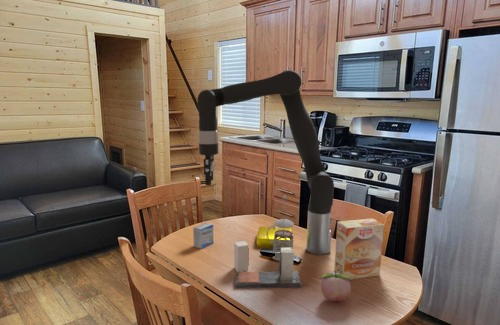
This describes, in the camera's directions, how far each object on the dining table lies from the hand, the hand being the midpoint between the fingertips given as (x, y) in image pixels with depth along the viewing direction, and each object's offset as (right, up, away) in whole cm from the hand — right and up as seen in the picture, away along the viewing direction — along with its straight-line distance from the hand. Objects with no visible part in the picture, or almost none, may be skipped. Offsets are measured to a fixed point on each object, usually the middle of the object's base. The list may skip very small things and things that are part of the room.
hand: (209, 182), depth 140 cm
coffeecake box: (+55, -33, -12) cm, 65 cm away
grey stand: (+22, -33, -18) cm, 44 cm away
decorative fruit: (+42, -36, -30) cm, 63 cm away
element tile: (+27, -28, +16) cm, 42 cm away
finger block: (+13, -32, -10) cm, 35 cm away
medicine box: (-4, -28, +11) cm, 30 cm away
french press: (+29, -30, +1) cm, 41 cm away
